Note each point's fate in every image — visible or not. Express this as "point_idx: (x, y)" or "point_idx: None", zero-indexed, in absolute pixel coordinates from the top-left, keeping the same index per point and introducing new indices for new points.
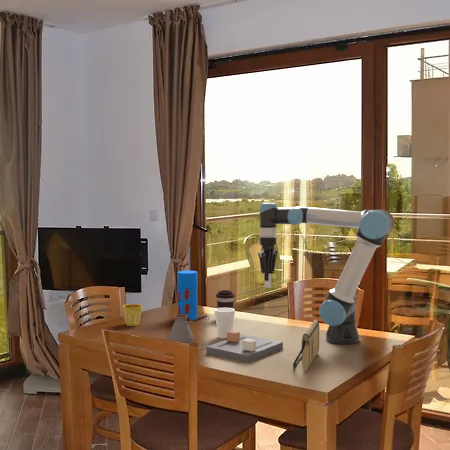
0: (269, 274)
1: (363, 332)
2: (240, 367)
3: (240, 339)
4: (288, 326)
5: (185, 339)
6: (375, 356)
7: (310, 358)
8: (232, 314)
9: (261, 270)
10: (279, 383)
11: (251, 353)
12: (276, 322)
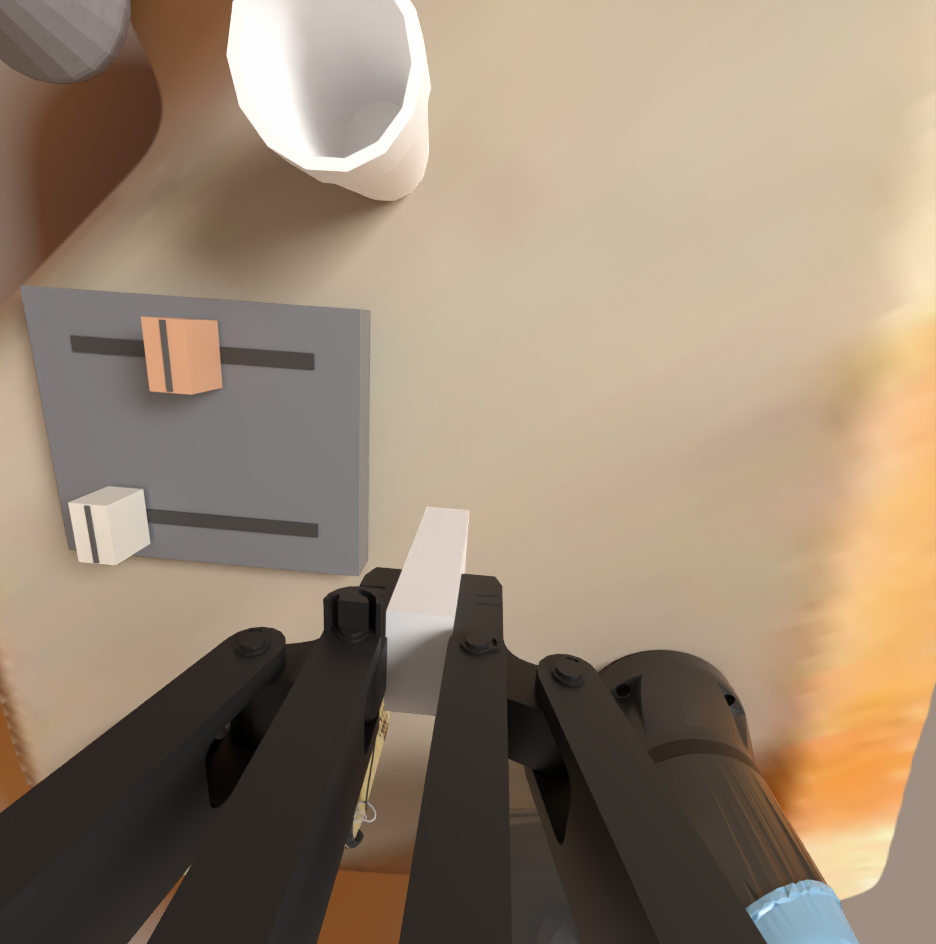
0: (385, 704)
1: (855, 743)
2: (29, 540)
3: (261, 365)
4: (840, 368)
5: (8, 63)
6: None
7: None
8: (336, 179)
9: (205, 665)
10: (9, 723)
11: None
12: (931, 235)
